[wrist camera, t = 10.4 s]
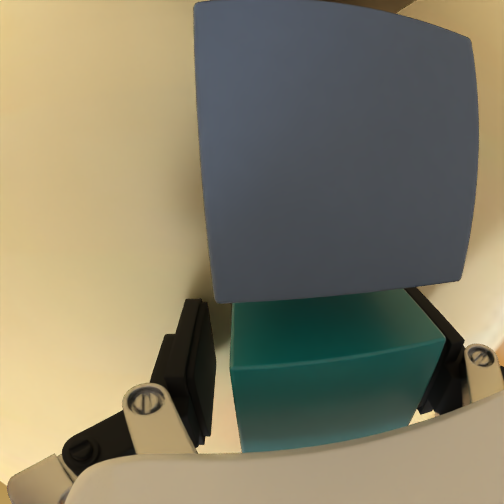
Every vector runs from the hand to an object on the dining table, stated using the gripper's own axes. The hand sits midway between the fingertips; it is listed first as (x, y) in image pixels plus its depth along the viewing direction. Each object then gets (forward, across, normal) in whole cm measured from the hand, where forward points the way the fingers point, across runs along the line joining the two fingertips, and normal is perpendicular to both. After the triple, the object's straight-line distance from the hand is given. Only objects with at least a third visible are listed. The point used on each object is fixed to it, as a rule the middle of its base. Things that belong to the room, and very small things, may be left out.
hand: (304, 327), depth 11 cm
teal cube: (0, 0, 0) cm, 0 cm away
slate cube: (0, 0, -6) cm, 7 cm away
